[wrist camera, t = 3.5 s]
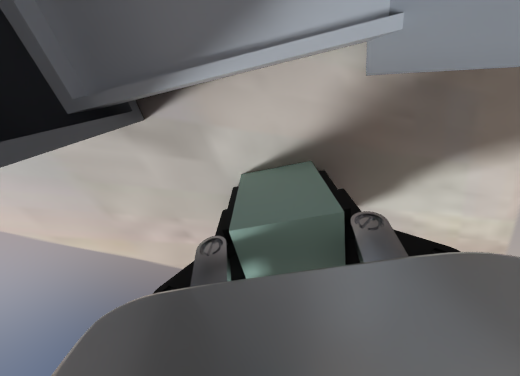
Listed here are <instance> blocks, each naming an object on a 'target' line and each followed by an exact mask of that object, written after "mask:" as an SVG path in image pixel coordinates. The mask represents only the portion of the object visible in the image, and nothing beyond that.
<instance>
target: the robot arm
mask: <svg viewBox="0 0 520 376" xmlns="http://www.w3.org/2000/svg"><path fill="white" fill-rule="evenodd" d="M318 172H319V174H320V175H321V177H322V178H323V180H324V181H325V183H326V185H327V186H328V188H329V189H330V191H331V192H332V194H333V195H334V197H335V198H336V200H337V201H338V203H339V205H340V206H341V208H342V209H343V211H344V225H345V265H341V266H334V267H327V268H319V269H312V270H305V271H298V272H290V273H283V274H276V275H269V276H262V277H255V278H248V279H246V277H245V274H244V272H243V269H242V266H241V263H240V261H239V258H238V255H237V252H236V250H235V247H234V244H233V241H232V239H231V236H230V233H229V228H230V223H231V219H232V214H233V210H234V205H235V201H236V196H237V192H238V188H239V186H238V187H233V190H232V194H231V198H230V202H229V205H228V209H226V210H223V212H222V215H221V218H220V221H219V225H218V228H217V231H216V235H215V236H212V237H210V238H207V239H206V240H204V241H203V242H202V243H200V245H199V246H198V247H197V250H196V255H195V261H193V262H192V263H191V264H189V265H188V266H187V267H185V268H184V269H183V270H181V271H180V272H179V273H178V274H176V275H175V276H174V277H172V278H171V279H170V280H168V281H167V282H166V283H164V284H163V285H162V286H160V287H159V288H158V289H157V290H156V291H155V292H154V293H153V294H151V295H147V296H144V297H141V298H138V299H135V300H133V301H130V302H128V303H126V304H124V305H122V306H120V307H118V308H116V309H114V310H112V311H110V312H109V313H107V314H106V315H104V316H102V317H101V318H100V319H99V320H97V321H96V322H95V323H94V324H93V325H92V326H91V327H90V328H89V329H88V330H87V331H86V332H85V334H84V335H83V336H82V337H81V338H80V339H79V341H78V342H77V343H76V344H75V345H74V347H73V348H72V349H71V351H70V352H69V353H68V354H67V356H66V357H65V358H64V359H63V361H62V362H61V363H60V365H59V366H58V367H57V369H56V370H55V372H54V373H53V374H52V376H520V257H517V256H512V255H504V254H495V253H485V252H460V251H458V250H457V249H454V248H451V247H449V246H446V245H442V244H439V243H436V242H432V241H429V240H426V239H423V238H419V237H416V236H413V235H409V234H406V233H403V232H400V231H396V230H393V228H392V227H391V225H390V223H389V222H388V220H387V219H386V218H385V217H384V216H382V215H381V214H378V213H375V212H370V211H364V212H361V210H360V209H359V208H358V207H357V205H356V204H355V203H354V201H353V200H352V199H351V197H350V196H349V195H348V194H347V192H346V191H345V190H344V189H337V188H336V186H335V185H334V184H333V182H332V181H331V179H330V178H329V176H328V175H327V174H326V172H325V171H324V170H322V171H318Z"/></svg>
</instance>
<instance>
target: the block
mask: <svg viewBox="0 0 520 376" xmlns="http://www.w3.org/2000/svg"><path fill="white" fill-rule="evenodd" d="M229 233H230V236H231V239H232V241H233V244H234V247H235V250H236V252H237V255H238V258H239V261H240V263H241V266H242V269H243V272H244V274H245V277H246V279H248V278H255V277H262V276H269V275H276V274H283V273H290V272H298V271H305V270H312V269H319V268H327V267H334V266H341V265H345V225H344V211H343V209H342V208H341V206H340V205H339V203H338V201H337V200H336V198H335V197H334V195H333V194H332V192H331V191H330V189H329V188H328V186H327V185H326V183H325V181H324V180H323V178H322V177H321V175H320V174H319V172H318V171H317V169H316V168H315V166H314V165H313V163H312V161H308V162H303V163H298V164H292V165H287V166H282V167H277V168H272V169H267V170H262V171H257V172H252V173H246V174H241V179H240V183H239V188H238V192H237V196H236V201H235V205H234V210H233V214H232V219H231V223H230V228H229Z"/></svg>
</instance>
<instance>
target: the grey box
mask: <svg viewBox="0 0 520 376" xmlns="http://www.w3.org/2000/svg"><path fill="white" fill-rule="evenodd" d="M143 120H144V118H143V116H142V114H141V112H140V110H139V107H138V105H137V103H136V101H135V100H133V101H129V102H125V103H121V104H117V105H113V106H109V107H105V108H100V109H94V110H88V111H82V112H76V113H70V114H67V112H66V111H65V109H64V107H63V106H62V104H61V103H60V101H59V100H58V98H57V96H56V95H55V93H54V92H53V90H52V89H51V87H50V85H49V84H48V82H47V81H46V79H45V78H44V76H43V74H42V73H41V71H40V70H39V68H38V66H37V65H36V63H35V62H34V60H33V59H32V57H31V55H30V54H29V52H28V51H27V49H26V48H25V46H24V44H23V43H22V41H21V40H20V38H19V37H18V35H17V33H16V32H15V30H14V29H13V27H12V26H11V24H10V22H9V21H8V19H7V18H6V16H5V15H4V13H3V11H2V10H1V8H0V167H4V166H7V165H10V164H13V163H16V162H19V161H22V160H25V159H28V158H31V157H34V156H37V155H40V154H43V153H46V152H49V151H52V150H55V149H58V148H61V147H64V146H67V145H70V144H73V143H76V142H79V141H82V140H85V139H88V138H91V137H94V136H97V135H100V134H103V133H106V132H109V131H112V130H115V129H119V128H122V127H125V126H128V125H131V124H134V123H137V122H140V121H143Z"/></svg>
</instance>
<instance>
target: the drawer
mask: <svg viewBox="0 0 520 376" xmlns="http://www.w3.org/2000/svg"><path fill="white" fill-rule="evenodd" d="M0 8H1V10H2V11H3V13H4V15H5V16H6V18H7V19H8V21H9V22H10V24H11V26H12V27H13V29H14V30H15V32H16V33H17V35H18V37H19V38H20V40H21V41H22V43H23V44H24V46H25V48H26V49H27V51H28V52H29V54H30V55H31V57H32V59H33V60H34V62H35V63H36V65H37V66H38V68H39V70H40V71H41V73H42V74H43V76H44V78H45V79H46V81H47V82H48V84H49V85H50V87H51V89H52V90H53V92H54V93H55V95H56V96H57V98H58V100H59V101H60V103H61V104H62V106H63V107H64V109H65V111H66V112H67V114H70V113H76V112H82V111H88V110H94V109H100V108H105V107H109V106H113V105H117V104H121V103H125V102H129V101H133V100H136V99H140V98H144V97H148V96H152V95H156V94H160V93H164V92H168V91H172V90H176V89H180V88H184V87H188V86H192V85H196V84H200V83H204V82H208V81H212V80H216V79H220V78H224V77H228V76H232V75H236V74H240V73H244V72H248V71H252V70H256V69H260V68H264V67H268V66H271V65H275V64H279V63H283V62H287V61H291V60H295V59H299V58H303V57H307V56H311V55H315V54H319V53H323V52H327V51H331V50H335V49H339V48H343V47H347V46H351V45H355V44H359V43H363V42H367V59H366V75H382V74H400V73H418V72H435V71H453V70H471V69H489V68H507V67H520V0H0Z"/></svg>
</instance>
